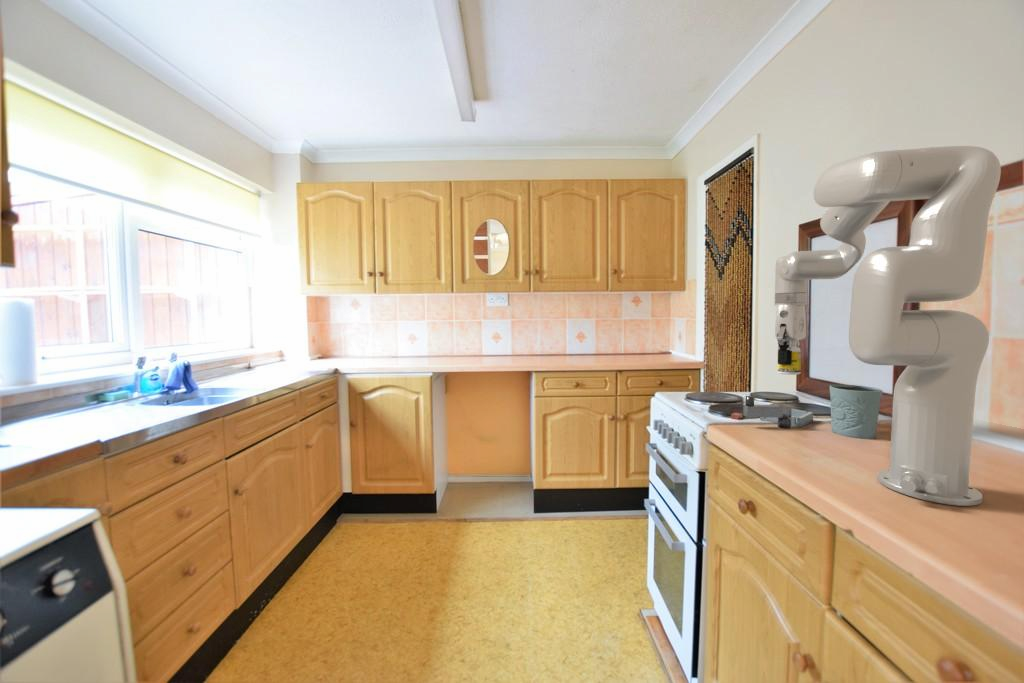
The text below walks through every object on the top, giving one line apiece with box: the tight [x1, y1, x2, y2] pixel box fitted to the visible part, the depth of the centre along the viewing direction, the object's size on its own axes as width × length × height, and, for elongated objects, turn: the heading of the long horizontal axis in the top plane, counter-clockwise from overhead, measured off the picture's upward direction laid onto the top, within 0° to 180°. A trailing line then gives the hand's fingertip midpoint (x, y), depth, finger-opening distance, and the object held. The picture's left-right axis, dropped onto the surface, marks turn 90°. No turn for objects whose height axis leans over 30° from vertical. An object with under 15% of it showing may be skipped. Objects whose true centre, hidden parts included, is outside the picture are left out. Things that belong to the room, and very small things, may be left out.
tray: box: [759, 408, 814, 428], centre depth 112 cm, size 10×10×2 cm
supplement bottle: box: [777, 339, 802, 376], centre depth 111 cm, size 5×5×10 cm
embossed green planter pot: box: [829, 384, 883, 440], centre depth 99 cm, size 10×10×12 cm
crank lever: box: [742, 395, 793, 418], centre depth 106 cm, size 12×3×6 cm, turn 86°
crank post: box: [730, 412, 792, 430], centre depth 110 cm, size 3×15×3 cm, turn 37°
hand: (788, 362), depth 111 cm, fingers closed on supplement bottle, 5 cm apart
